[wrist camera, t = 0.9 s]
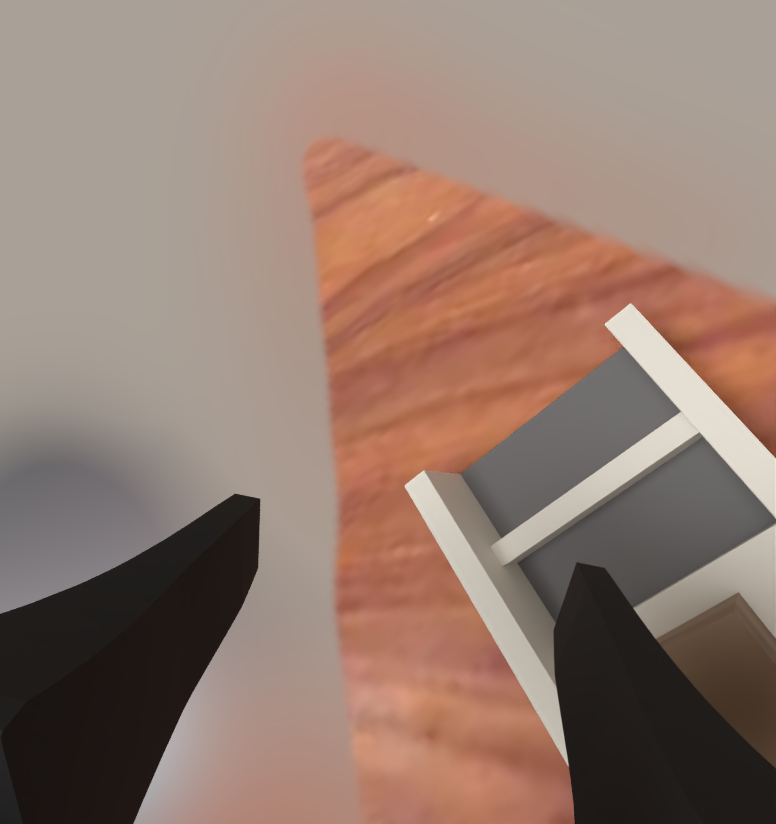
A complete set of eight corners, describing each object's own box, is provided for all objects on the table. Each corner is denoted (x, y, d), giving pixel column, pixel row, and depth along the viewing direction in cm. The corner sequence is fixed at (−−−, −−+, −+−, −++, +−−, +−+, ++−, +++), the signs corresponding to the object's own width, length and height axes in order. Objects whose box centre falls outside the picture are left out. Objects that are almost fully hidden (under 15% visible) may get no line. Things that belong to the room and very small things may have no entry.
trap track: (1192, 919, 16) (1306, 1028, 13) (780, 1030, 20) (784, 1135, 17) (647, 329, 26) (630, 303, 22) (444, 488, 30) (404, 485, 26)
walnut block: (839, 718, 19) (859, 771, 15) (714, 774, 20) (704, 835, 17) (738, 592, 21) (733, 611, 17) (631, 652, 22) (604, 682, 19)
